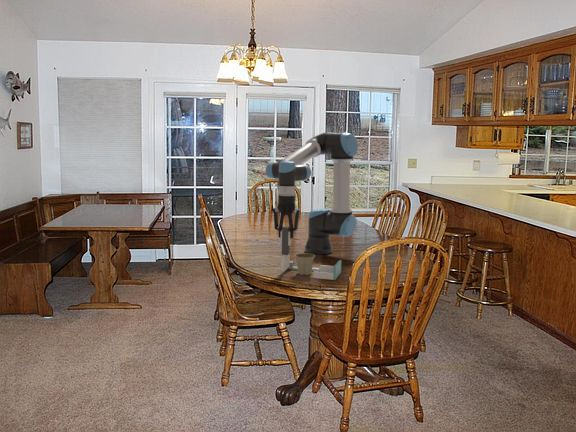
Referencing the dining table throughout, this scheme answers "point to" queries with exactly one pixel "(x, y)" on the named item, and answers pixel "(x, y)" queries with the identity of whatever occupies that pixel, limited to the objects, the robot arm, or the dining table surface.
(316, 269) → the track
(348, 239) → the dining table surface
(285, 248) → the paddle
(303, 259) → the flower pot
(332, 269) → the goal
